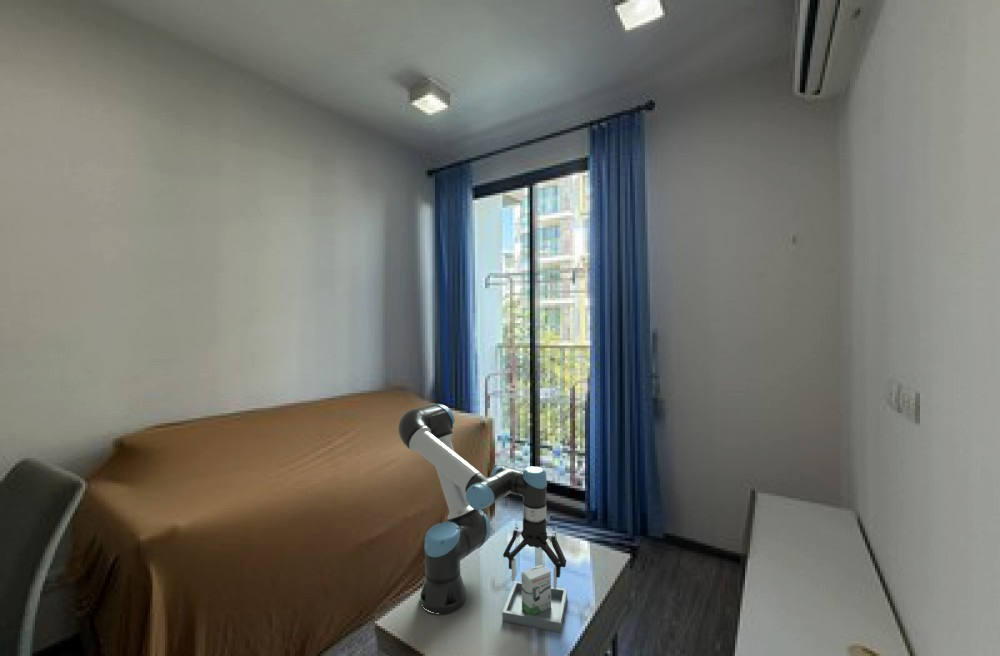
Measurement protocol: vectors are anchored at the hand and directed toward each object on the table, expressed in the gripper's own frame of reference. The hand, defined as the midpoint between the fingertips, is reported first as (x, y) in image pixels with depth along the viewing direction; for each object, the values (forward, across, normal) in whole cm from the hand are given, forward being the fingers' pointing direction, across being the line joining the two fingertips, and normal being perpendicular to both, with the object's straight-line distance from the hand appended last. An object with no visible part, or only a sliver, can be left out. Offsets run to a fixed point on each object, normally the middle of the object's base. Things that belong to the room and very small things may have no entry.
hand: (534, 582), depth 131 cm
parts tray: (+8, +1, 0) cm, 9 cm away
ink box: (+8, +1, 0) cm, 8 cm away
